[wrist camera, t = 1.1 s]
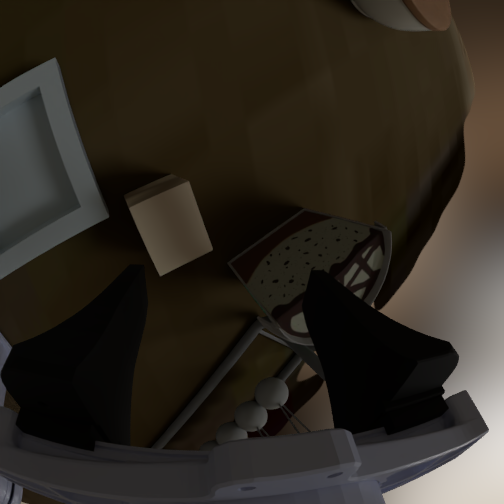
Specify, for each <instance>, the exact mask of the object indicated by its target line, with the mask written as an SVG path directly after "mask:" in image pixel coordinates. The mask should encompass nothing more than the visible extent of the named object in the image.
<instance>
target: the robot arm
mask: <svg viewBox="0 0 504 504" xmlns="http://www.w3.org/2000/svg"><path fill="white" fill-rule="evenodd" d="M147 307H148V299H147V290H146V281H145V271H144V265H131V264H130V265H129V266H128V267H127V268H126V269H125V270H124V271H123V272H122V273H121V274H120V275H119V276H118V277H117V278H116V279H115V280H114V281H113V282H112V283H111V284H110V285H109V286H108V287H107V288H106V289H105V290H104V291H103V292H102V293H101V294H99V295H98V296H97V297H96V298H95V299H94V300H93V301H92V302H91V303H89V304H88V305H87V306H86V307H84V308H83V309H82V310H80V311H79V312H78V313H76V314H75V315H73V316H72V317H70V318H69V319H67V320H65V321H64V322H62V323H61V324H59V325H57V326H56V327H54V328H52V329H50V330H48V331H46V332H44V333H42V334H40V335H38V336H36V337H34V338H31V339H29V340H26V341H24V342H21V343H18V344H16V345H13V347H11V345H10V344H9V343H8V342H7V340H6V339H5V338H4V336H3V335H2V334H1V332H0V504H20V503H21V499H22V491H23V487H24V488H26V489H28V490H31V491H33V492H36V493H38V494H41V495H43V496H46V497H49V498H51V499H54V500H57V501H60V502H63V503H66V504H385V501H384V499H383V496H382V494H383V493H385V492H388V491H390V490H393V489H395V488H397V487H400V486H402V485H404V484H406V483H408V482H410V481H412V480H415V479H417V478H419V477H421V476H423V475H425V474H427V473H429V472H431V471H433V470H435V469H436V468H438V467H440V466H442V465H444V464H446V463H447V462H449V461H451V460H453V459H455V458H456V457H458V456H459V455H460V454H462V453H463V452H464V451H466V450H467V449H468V448H469V447H471V446H472V445H473V444H474V443H476V442H477V441H478V440H479V439H480V438H482V437H483V436H484V435H485V434H486V433H487V432H488V431H489V429H488V427H487V425H486V423H485V422H484V420H483V418H482V416H481V415H480V413H479V411H478V409H477V407H476V406H475V404H474V403H473V401H472V400H471V397H470V396H469V394H468V392H467V391H466V390H464V391H462V392H459V393H457V394H455V395H452V396H450V397H448V398H447V399H446V400H444V398H443V397H442V395H443V394H444V392H445V390H444V389H443V387H442V385H443V383H444V382H445V381H446V379H447V378H448V377H449V376H450V375H451V373H452V372H453V370H454V369H455V368H456V366H457V363H458V360H459V355H458V354H457V352H456V351H455V349H454V348H453V347H452V345H451V344H450V342H447V341H444V340H440V339H437V338H434V337H431V336H428V335H425V334H423V333H420V332H417V331H415V330H413V329H410V328H408V327H406V326H404V325H402V324H400V323H398V322H396V321H394V320H392V319H390V318H389V317H387V316H385V315H384V314H382V313H380V312H379V311H377V310H376V309H374V308H373V307H371V306H370V305H368V304H367V303H366V302H364V301H363V300H362V299H360V298H359V297H358V296H356V295H355V294H354V293H352V292H351V291H350V290H349V289H347V288H346V287H345V286H344V285H342V284H341V283H340V282H339V281H337V280H336V279H335V278H334V277H332V276H331V275H330V274H329V273H327V272H326V271H324V270H311V272H310V276H309V280H308V284H307V288H306V291H305V295H304V299H303V302H302V310H303V315H304V319H305V323H306V326H307V329H308V332H309V334H310V337H311V339H312V342H313V345H314V347H315V350H316V352H317V355H318V357H319V360H320V363H321V366H322V369H323V372H324V376H325V380H326V384H327V388H328V393H329V398H330V403H331V409H332V415H333V421H334V429H325V430H318V431H312V432H306V433H298V434H290V435H281V436H271V437H259V438H246V439H239V440H231V441H227V442H225V443H222V444H219V445H216V446H215V447H214V448H213V449H212V450H211V451H185V450H166V449H153V448H142V447H134V446H130V412H131V395H132V383H133V374H134V368H135V363H136V358H137V354H138V350H139V346H140V342H141V338H142V334H143V330H144V326H145V322H146V315H147ZM6 389H7V390H8V392H9V393H10V394H11V396H12V397H13V398H14V400H15V401H16V402H17V403H18V405H19V406H20V407H21V408H20V411H19V414H17V413H16V412H14V411H13V410H11V409H8V408H6V407H3V406H4V399H5V393H6Z"/></svg>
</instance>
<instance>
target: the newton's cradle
mask: <svg viewBox="0 0 504 504" xmlns="http://www.w3.org/2000/svg"><path fill="white" fill-rule="evenodd" d="M262 319H264V320H266V321H268V322H269V323H271V320H270V319H269V318H268V316H265V317H262ZM263 328H265V327H264V326H263V325H262V324H261V323H260V322H259V320H256V321H255V322H254V323H253V324H252V325H251V326H250V327H249V329H248V330H247V331H246V333H245V334H244V335H243V337H242V338H241V339H240V340H239V342H238V343H237V344H236V346H235V347H234V348H233V349H232V351H231V352H230V353H229V354H228V356H227V357H226V358H225V360H224V361H223V362H222V363H221V365H220V366H219V367H218V368H217V370H216V371H215V372H214V373H213V375H212V376H211V377H210V378H209V380H208V381H207V382H206V383H205V384H204V386H203V387H202V388H201V389H200V391H199V392H198V393H197V394H196V395H195V397H194V398H193V399H192V400H191V402H190V403H189V404H188V405H187V406H186V408H185V409H184V410H183V411H182V412H181V414H180V415H179V416H178V417H177V418H176V419H175V421H174V422H173V423H172V424H171V425H170V426H169V428H168V429H167V430H166V431H165V432H164V433H163V435H162V436H161V437H160V438H159V439H158V440H157V442H156V443H155V444H154V445H153V446H152V447H151V448H153V449H162V448H163V447H164V446H165V445H166V444H167V443H168V441H169V440H170V439H171V438H172V437H173V436H174V435H175V434H176V432H177V431H178V430H179V429H180V428H181V427H182V426H183V424H184V423H185V422H186V421H187V420H188V419H189V418H190V416H191V415H192V414H193V413H194V412H195V411H196V409H197V408H198V407H199V406H200V405H201V404H202V402H203V401H204V400H205V399H206V398H207V397H208V395H209V394H210V393H211V392H212V391H213V389H214V388H215V387H216V386H217V385H218V383H219V382H220V381H221V380H222V378H223V377H224V376H225V375H226V374H227V372H228V371H229V370H230V369H231V367H232V366H233V365H234V364H235V362H236V361H237V360H238V359H239V357H240V356H241V355H242V354H243V352H244V351H245V350H246V349H247V347H248V346H249V345H250V344H251V342H252V341H253V340H254V338H255V337H256V336H257V335H258V333H260V334H262V335H265V336H267V337H269V338H271V339H273V340H275V341H277V342H279V343H281V344H283V345H286V346H288V347H290V348H291V349H292V350H293V351H294V352H295V353H296V354H295V356H294V357H293V358H292V359H291V360H290V362H289V363H288V364H287V365H286V367H285V368H284V369H283V370H282V371H281V373H280V374H279V375H278V376H277V377H276V378H274V377H269V378H265V379H263V380H261V381H260V382H259V383H258V385H257V386H256V388H255V399H256V402H255V401H247V402H244V403H242V404H240V405H239V406H238V407H237V409H236V411H235V421H236V423H235V422H227V423H224V424H222V425H221V426H220V427H219V428H218V430H217V432H216V440H217V441H208V442H206V443H204V444H203V445H202V446H201V447H200V450H199V451H211V450H212V449H213V448H214V447H215V446H216V445H219V444H222V443H225V442H227V441H231V440H239V439H246V438H247V432H246V431H256V430H258V431H259V433H260V435H261V437H263V436H262V434H261V432H260V430H259V429H262V430H263V431H264V429H263V428H262V427H263V426H264V425H265V423H266V421H267V411H266V409H276V408H279V407H280V408H281V409H282V411H283V412H284V414H285V415H286V417H287V418H288V420H289V421H290V422H291V420H290V418H289V417H288V415H287V414H286V413H285V411H284V410H283V408H282V407H281V406H283V407H284V408H285V409H286V410H287V411H288V412H289V413H290V414H291V415H292V416H293V417H294V418H295V419H296V420H297V421H298V422H299V423H300V424H302V423H301V422H300V421H299V420H298V419H297V418H296V417H295V416H294V415H293V414H292V413H291V412H290V411H289V410H288V409H287V408H286V407H285V406H284V405H283V404H284V403H285V402H286V400H287V398H288V388H287V386H286V384H285V383H284V381H285V380H286V379H287V377H288V376H289V375H290V374H291V373H292V371H293V370H294V369H295V368H296V367H297V365H298V364H299V363H300V362H301V360H302V359H303V360H304V361H305V362H306V363H307V364H308V365H309V366H310V367H311V368H312V369H313V370H314V371H315V372H316V373H317V374H318V375H319V376H320V377H321V378H322V379H324V380H325V376H324V372H323V369H322V366H321V363H320V360H319V357H318V356H317V355H316V354H315V353H314V352H313V350H314V351H316V350H315V347H314V345H301V344H297V343H293V342H289V341H287V340H285V339H283V338H281V337H280V338H281V339H282V340H281V339H279V338H277V337H275V336H273V335H271V334H269V333H267V332H265V331H263V330H262V329H263ZM325 381H326V380H325ZM265 408H266V409H265ZM291 424H292V425H293V427H294V428H295V430H296V431H297V433H299V431H298V430H297V428H296V427H295V425H294V424H293V423H292V422H291ZM302 426H303V427H305V428H306V429H307V430H308V431H309V432H311V431H310V430H309V429H308V428H307V427H306V426H305V425H304V424H302ZM264 433H265V434H266V435H267V436H268V437H270V436H269V435H268V434H267V433H266V432H265V431H264Z"/></svg>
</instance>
